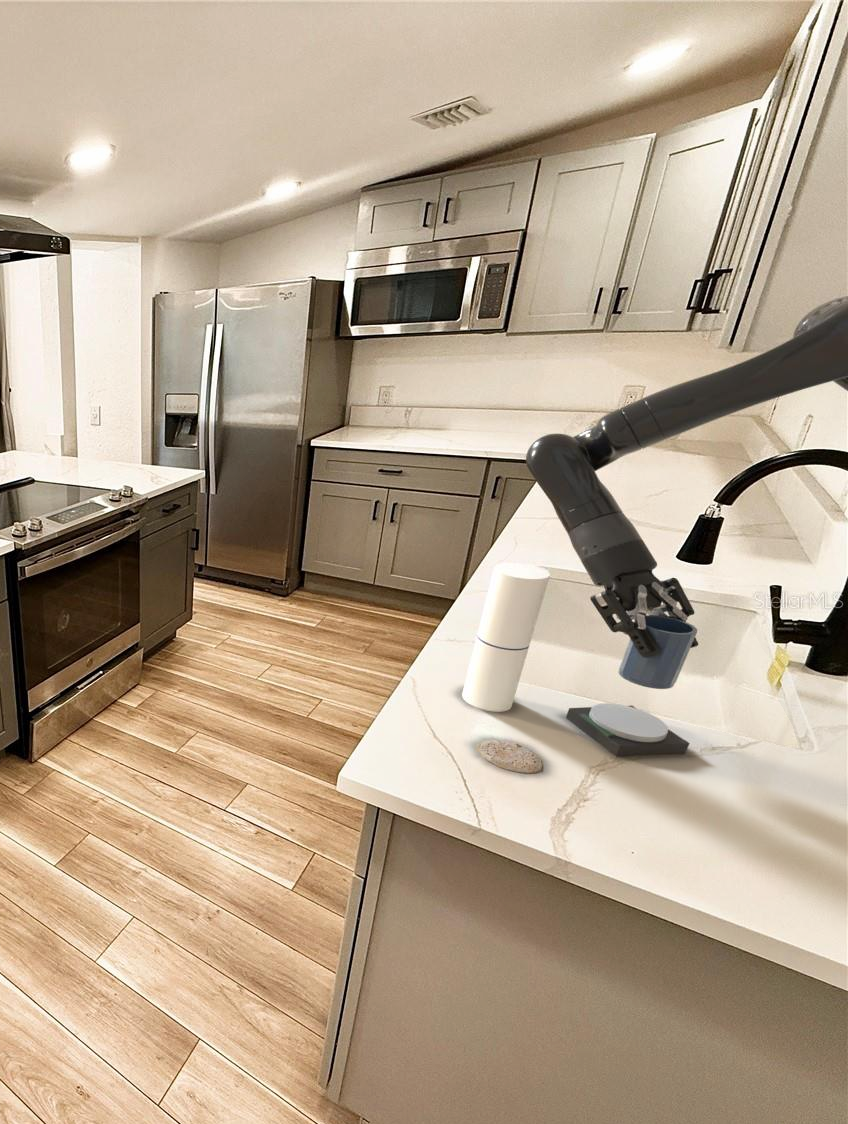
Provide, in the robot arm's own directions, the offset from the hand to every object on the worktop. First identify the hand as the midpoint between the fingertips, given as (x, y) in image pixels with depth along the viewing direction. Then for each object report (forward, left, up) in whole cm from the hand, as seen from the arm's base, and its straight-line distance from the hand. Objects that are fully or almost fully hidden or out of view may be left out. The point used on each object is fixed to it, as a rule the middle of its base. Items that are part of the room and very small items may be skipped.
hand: (671, 651), depth 88 cm
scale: (0, -2, -17) cm, 17 cm away
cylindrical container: (+14, -13, -17) cm, 26 cm away
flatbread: (+20, +2, -17) cm, 26 cm away
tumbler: (0, -2, -5) cm, 6 cm away
